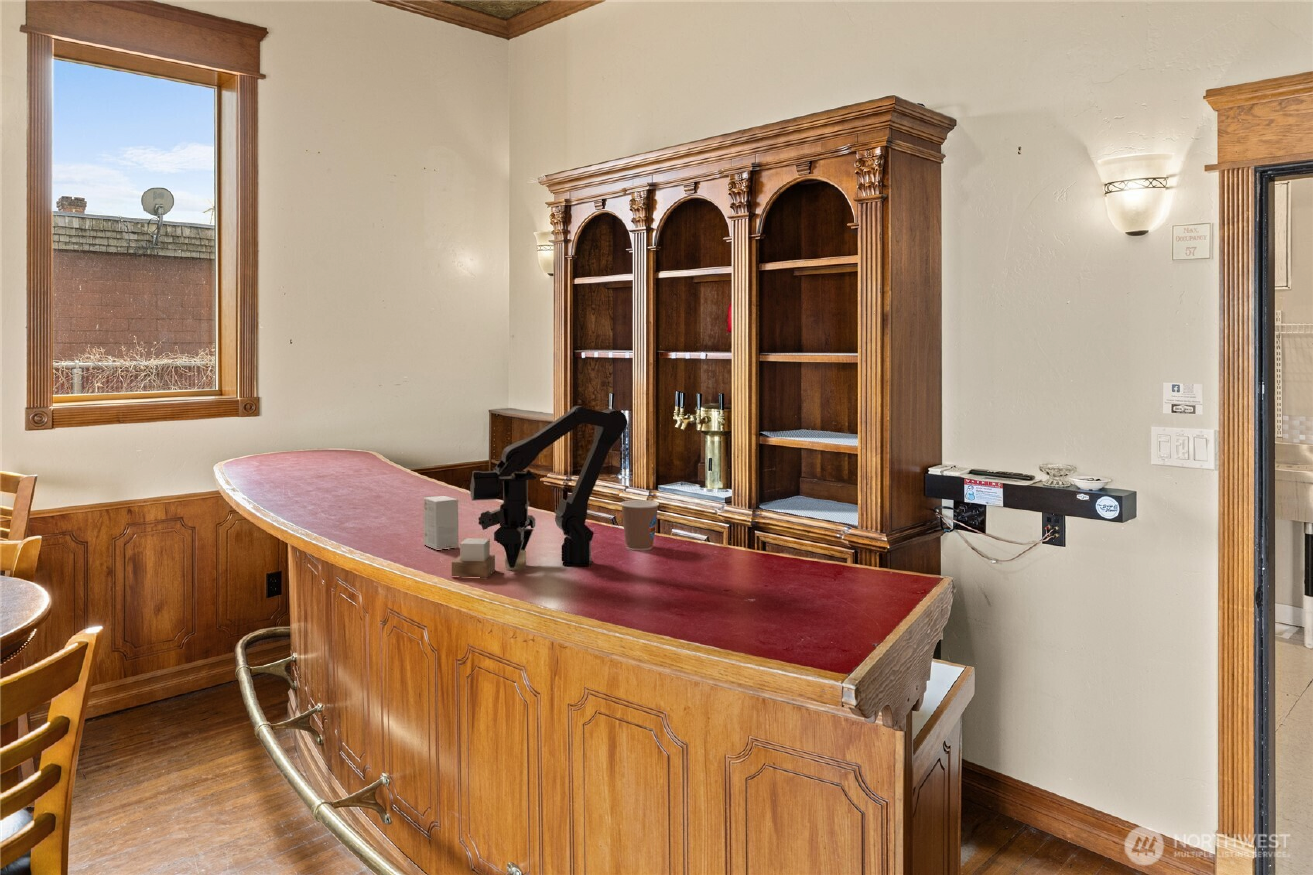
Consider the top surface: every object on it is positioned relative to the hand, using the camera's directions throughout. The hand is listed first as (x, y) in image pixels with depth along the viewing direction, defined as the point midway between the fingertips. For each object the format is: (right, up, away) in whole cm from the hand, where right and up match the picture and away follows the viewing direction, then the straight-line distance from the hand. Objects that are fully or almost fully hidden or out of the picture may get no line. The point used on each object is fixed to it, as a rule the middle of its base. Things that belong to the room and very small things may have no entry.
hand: (515, 563), depth 199 cm
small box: (-23, +1, +21) cm, 31 cm away
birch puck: (0, -1, 0) cm, 1 cm away
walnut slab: (-9, -2, -6) cm, 11 cm away
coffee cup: (+29, 0, +24) cm, 38 cm away
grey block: (-8, +2, -6) cm, 11 cm away
